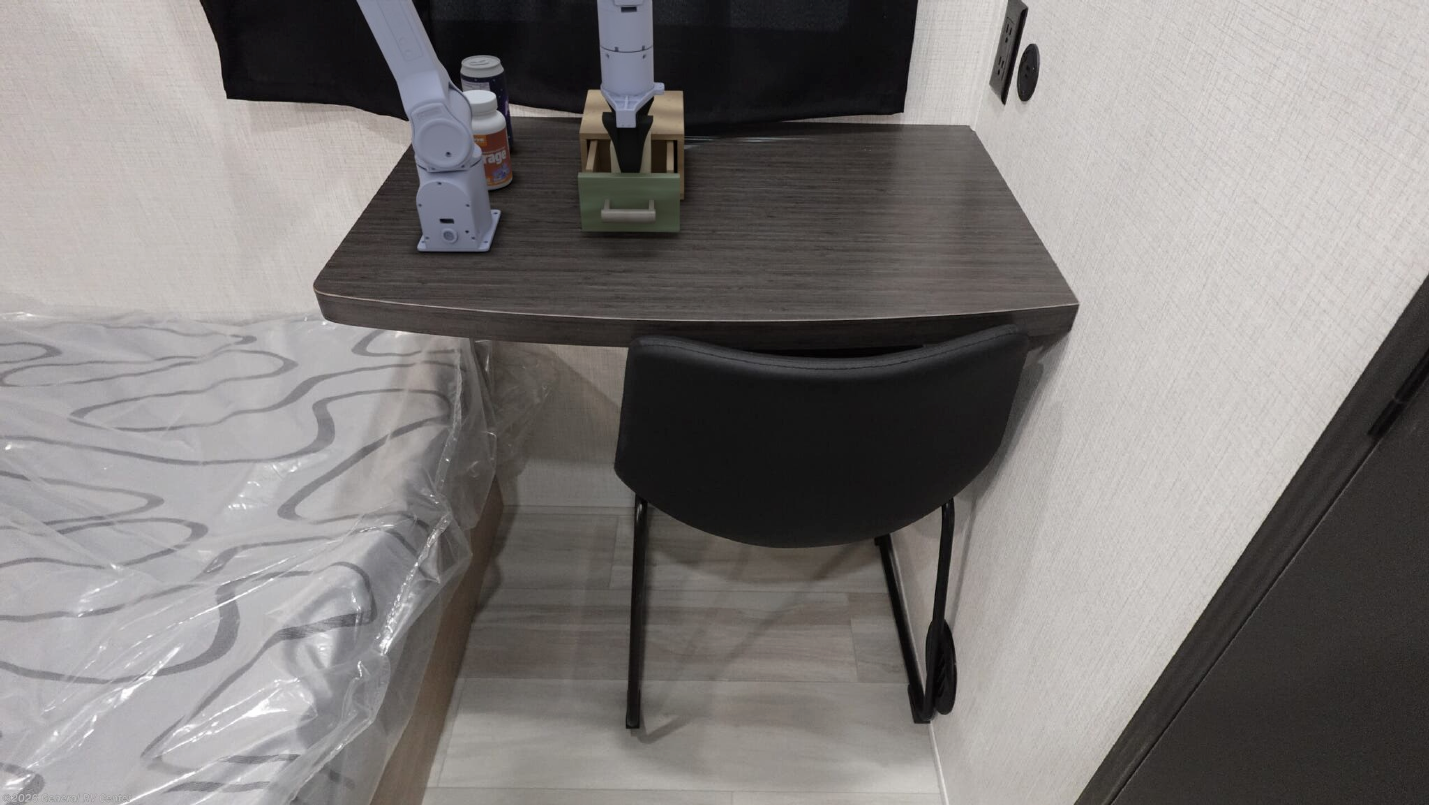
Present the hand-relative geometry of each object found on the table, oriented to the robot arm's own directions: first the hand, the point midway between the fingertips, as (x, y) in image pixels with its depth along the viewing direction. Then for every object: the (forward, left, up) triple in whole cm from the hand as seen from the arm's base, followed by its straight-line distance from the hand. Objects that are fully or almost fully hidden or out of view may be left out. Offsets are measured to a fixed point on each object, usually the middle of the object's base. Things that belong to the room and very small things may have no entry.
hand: (631, 164), depth 99 cm
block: (0, 0, -1) cm, 1 cm away
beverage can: (+19, +20, -7) cm, 28 cm away
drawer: (-1, 0, -6) cm, 6 cm away
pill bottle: (+9, +19, -7) cm, 22 cm away
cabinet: (+11, 0, -7) cm, 13 cm away
